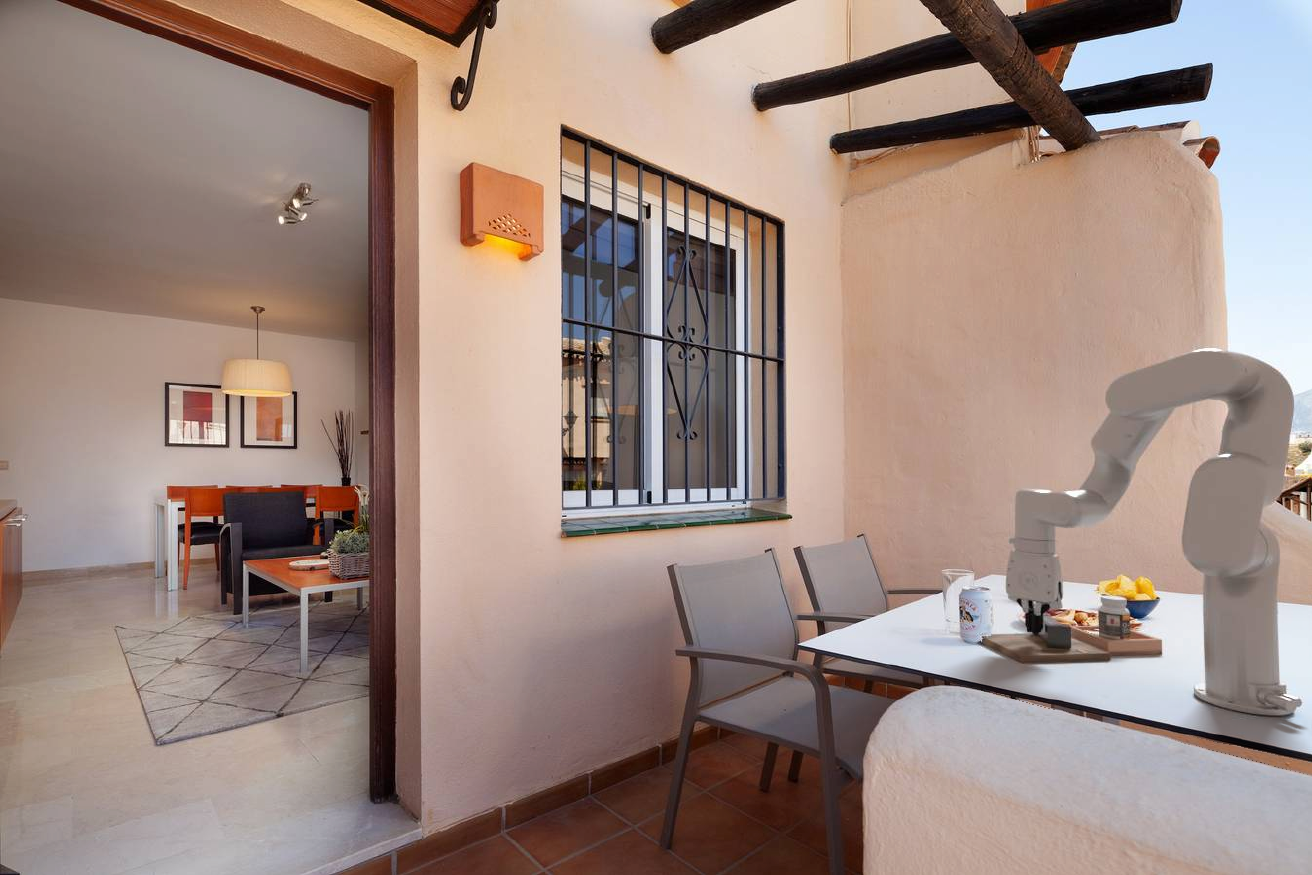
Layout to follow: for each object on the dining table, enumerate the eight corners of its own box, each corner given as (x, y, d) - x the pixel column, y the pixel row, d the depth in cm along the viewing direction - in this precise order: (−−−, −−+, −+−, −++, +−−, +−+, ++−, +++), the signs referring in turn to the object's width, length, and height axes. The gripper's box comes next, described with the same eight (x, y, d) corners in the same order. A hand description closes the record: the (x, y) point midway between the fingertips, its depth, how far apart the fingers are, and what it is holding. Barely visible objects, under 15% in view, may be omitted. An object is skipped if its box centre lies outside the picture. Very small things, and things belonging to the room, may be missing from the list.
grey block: (1028, 631, 149) (1028, 611, 149) (1049, 632, 148) (1049, 612, 148) (1047, 647, 137) (1047, 625, 137) (1071, 648, 136) (1070, 626, 136)
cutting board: (1110, 660, 133) (1110, 652, 133) (1021, 663, 132) (1021, 655, 132) (1058, 639, 149) (1058, 631, 149) (978, 641, 147) (978, 634, 147)
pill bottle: (1131, 648, 139) (1130, 601, 139) (1098, 643, 142) (1098, 598, 142) (1130, 641, 143) (1129, 596, 144) (1098, 637, 147) (1097, 593, 147)
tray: (1162, 653, 137) (1161, 639, 137) (1108, 655, 136) (1108, 641, 136) (1118, 638, 149) (1117, 624, 149) (1068, 639, 148) (1068, 626, 148)
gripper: (991, 543, 144) (990, 626, 144) (1064, 553, 131) (1063, 644, 131) (1008, 540, 148) (1008, 620, 148) (1081, 550, 136) (1080, 637, 136)
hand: (1034, 631), depth 140 cm, fingers closed
